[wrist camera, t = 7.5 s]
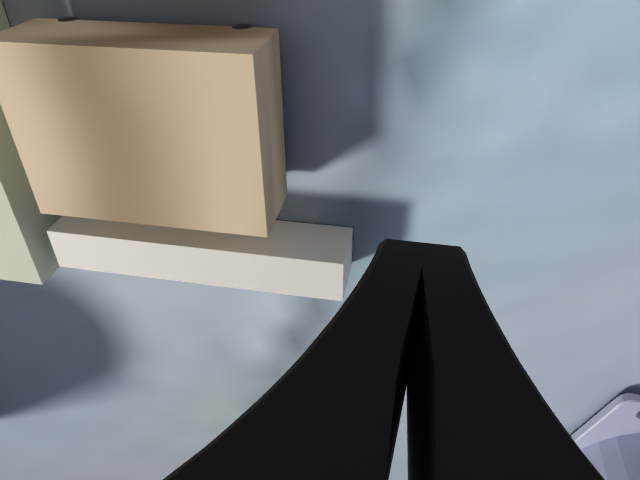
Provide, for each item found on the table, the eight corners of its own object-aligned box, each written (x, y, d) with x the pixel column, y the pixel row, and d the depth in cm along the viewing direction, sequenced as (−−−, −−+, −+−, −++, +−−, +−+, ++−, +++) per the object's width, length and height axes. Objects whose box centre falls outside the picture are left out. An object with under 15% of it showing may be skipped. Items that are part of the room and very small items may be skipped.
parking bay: (364, -141, 12) (348, -141, 10) (351, 274, 19) (339, 323, 17) (-175, -136, 14) (-275, -134, 12) (-10, 232, 21) (-58, 271, 19)
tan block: (285, 19, 14) (252, 52, 12) (292, 185, 17) (267, 238, 15) (50, 9, 15) (-24, 38, 13) (95, 167, 18) (41, 214, 16)
